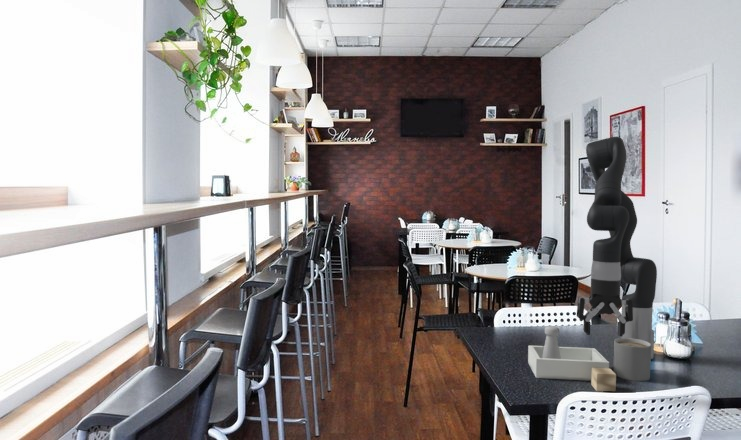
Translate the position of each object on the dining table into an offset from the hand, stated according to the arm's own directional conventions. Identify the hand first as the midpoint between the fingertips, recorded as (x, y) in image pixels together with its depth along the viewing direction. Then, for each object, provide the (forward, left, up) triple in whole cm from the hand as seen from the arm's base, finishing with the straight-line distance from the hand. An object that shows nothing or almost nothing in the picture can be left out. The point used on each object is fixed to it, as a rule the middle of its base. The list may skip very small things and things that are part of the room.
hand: (603, 335), depth 147 cm
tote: (+7, -13, -15) cm, 21 cm away
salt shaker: (+11, -13, -15) cm, 22 cm away
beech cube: (0, 0, -15) cm, 15 cm away
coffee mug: (-13, -14, -15) cm, 25 cm away
